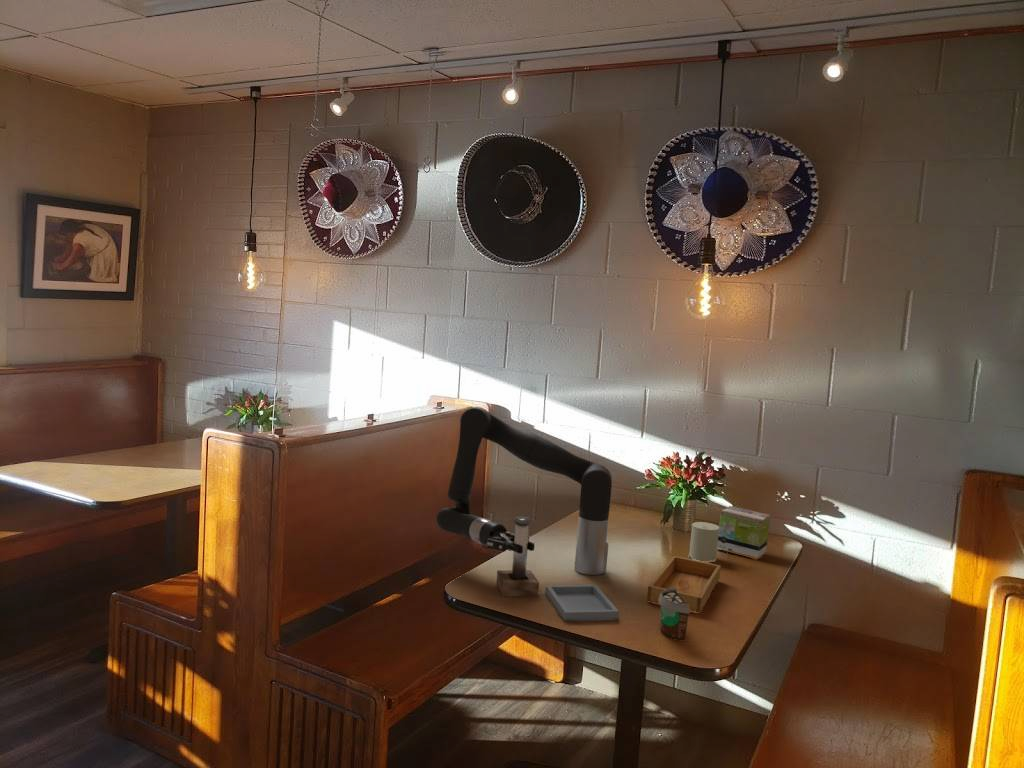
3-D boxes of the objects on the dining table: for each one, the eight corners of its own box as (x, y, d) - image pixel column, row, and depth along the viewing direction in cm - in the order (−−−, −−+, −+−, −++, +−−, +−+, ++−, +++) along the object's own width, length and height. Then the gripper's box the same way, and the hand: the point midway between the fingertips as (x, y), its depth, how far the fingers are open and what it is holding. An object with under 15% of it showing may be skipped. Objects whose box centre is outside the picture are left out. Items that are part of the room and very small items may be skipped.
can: (686, 559, 266) (689, 525, 264) (690, 552, 274) (694, 518, 273) (714, 565, 262) (717, 530, 261) (717, 557, 271) (721, 523, 269)
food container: (650, 622, 211) (653, 586, 210) (672, 623, 211) (676, 587, 210) (662, 642, 199) (666, 604, 198) (686, 643, 199) (690, 605, 198)
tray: (699, 616, 219) (701, 596, 218) (646, 603, 225) (648, 584, 225) (719, 583, 247) (721, 565, 246) (671, 572, 253) (673, 555, 252)
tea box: (715, 550, 278) (719, 510, 276) (724, 544, 286) (729, 504, 285) (758, 561, 270) (762, 519, 268) (766, 554, 278) (771, 513, 277)
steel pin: (524, 576, 230) (528, 516, 228) (528, 582, 225) (532, 521, 223) (508, 576, 229) (512, 516, 227) (512, 583, 224) (516, 521, 222)
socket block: (529, 583, 233) (530, 570, 233) (538, 596, 224) (539, 582, 223) (496, 583, 231) (497, 570, 230) (503, 596, 221) (504, 583, 221)
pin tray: (594, 593, 229) (595, 584, 229) (618, 620, 211) (619, 611, 211) (545, 594, 226) (545, 585, 225) (564, 621, 207) (565, 612, 207)
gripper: (470, 524, 231) (510, 540, 218) (505, 517, 241) (546, 531, 228) (468, 549, 232) (508, 566, 219) (504, 541, 241) (544, 557, 229)
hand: (527, 548), depth 224 cm, fingers closed on steel pin, 4 cm apart
